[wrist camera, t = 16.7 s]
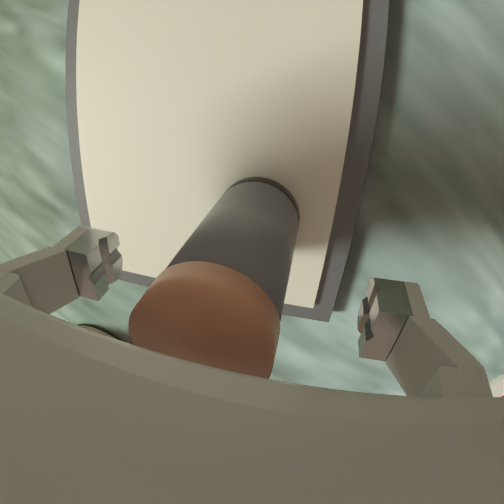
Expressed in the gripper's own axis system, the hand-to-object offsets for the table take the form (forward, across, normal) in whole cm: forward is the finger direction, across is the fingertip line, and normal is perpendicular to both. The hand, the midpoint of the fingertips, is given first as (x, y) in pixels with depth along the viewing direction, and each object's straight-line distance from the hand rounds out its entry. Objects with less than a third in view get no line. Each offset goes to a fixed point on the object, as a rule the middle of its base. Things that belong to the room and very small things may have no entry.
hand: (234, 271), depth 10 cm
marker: (+4, 0, 0) cm, 4 cm away
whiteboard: (+5, +3, -7) cm, 9 cm away
